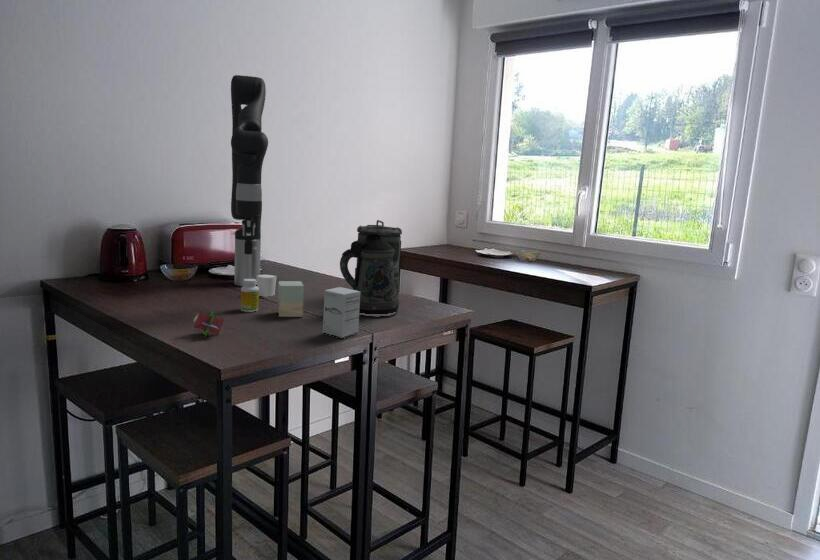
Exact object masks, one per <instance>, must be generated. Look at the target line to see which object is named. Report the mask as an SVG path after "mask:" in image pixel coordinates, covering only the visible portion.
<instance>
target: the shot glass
mask: <svg viewBox="0 0 820 560" xmlns="http://www.w3.org/2000/svg"><path fill="white" fill-rule="evenodd" d="M256 277H257V287H258V288H259V296H264V297H263V298H269V297H268V296H273V295H274V296H275V292H276V287H277V286H276V285H277V275H274V274H268V273H267V274H266V273H265V274H260V275H257V276H256Z"/></svg>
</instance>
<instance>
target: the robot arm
mask: <svg viewBox="0 0 820 560" xmlns="http://www.w3.org/2000/svg"><path fill="white" fill-rule="evenodd" d="M230 82H231V83H230V98H231V116H232V117H231V119H232V122H231V123H232V126H231V127H232V128H231V129H232V132H231V133H232V134H231V137H230V146H231V165H232V166H231V168H232V171H231V172H232V176H231V177H232V179H231V181H232V182H231V183H232V184H231V201H230V212H231V217H232V219H234V220H237V221H241V227H242V228H239V229H236V230H235V232H234V280H233V281H234V285H235V286H239V287H243V286H244V284H243V280H244V279H256V280H257V277H256V276H257V275H261V252H262V251H261V249H262V248H261V246H262V245H261V238H262V236H261V235H262V232H261V231H262V230H261V227H262V212H263V200H262V197H263V196H262V195H263V193H262V191H263V190H262V189H263V188H262V170H263V169H262V168H263V163H264V160H265V159H264V158H265V157H266V154H267V150H268V148H269V147H268V146H269V139H268V136H267V134H265V132H263V131H262V125H263V124H262V117H263V112H264V109H265V101H266V93H267V90H266V83H265V80H264V79H263V78H262V77H258V76H250V75H238V74H235V75H233V76H232V78H231V81H230ZM242 105H243V106H244V107H243V108H242ZM256 285H257V284H256Z"/></svg>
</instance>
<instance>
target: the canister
mask: <svg viewBox="0 0 820 560" xmlns="http://www.w3.org/2000/svg"><path fill="white" fill-rule="evenodd" d="M379 223H380V224H379ZM356 231H357V232H358V233H357V240H363V239H365V238H366V236H367V235H382V237H383V239H384V240H385V241H386V242H387V243H388V244H389V245H391V246H392V247H393V249H394V250H395V252H394V256H393V258H392V261H393V271H394V282H395V288H396V293H397V297H398V298H399V289H400V270H399V269H400V259H401V254H402V253H401V250H402V240H401V237H402V236H401V235H402V234H403V230H402V229H401V228H400V227H397V226H396V227H393V226H385V223H384V221H382V220H380V219H377V220H376V224H367V225H359V226H358V227H357V228H356ZM357 263H358V258H356V264H357ZM356 268H357V265H356V266H355V269H354V275H355V274H356Z"/></svg>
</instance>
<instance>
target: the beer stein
mask: <svg viewBox="0 0 820 560" xmlns="http://www.w3.org/2000/svg"><path fill="white" fill-rule="evenodd" d="M394 252H395V250H394V249H393V247H392V246H391V245H389V244H388V243H387V242H386V241H385V240H384V239H383V237H382V235H367V236H366V238H365V239H363V240H358V239H357V240H355V241H354V240H353V242H351V244H350V248H349V249H346V250H344V251H343V253H342V254H341V257H340V260H339V270H340V273H341V275H342V277H343V279H344V280H345V282H347V284H348V285H349V286H350V287H351V288H352V290H356V291H360V307H359V313H365V314H388V313H393V312H396V311H397V310H398V311H399V307H400V300H399V296H398V297H397V293H396V288H395V282H394V271H393V261H392V258H393V256H394ZM352 258H356V259H357V258H358V263H357V262H356V266H357V268H356V267H355V268H356V274H355V273H354V277H353V275H352V274H351V273H350V270H349V262H350V259H352ZM398 311H397V312H398Z"/></svg>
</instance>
